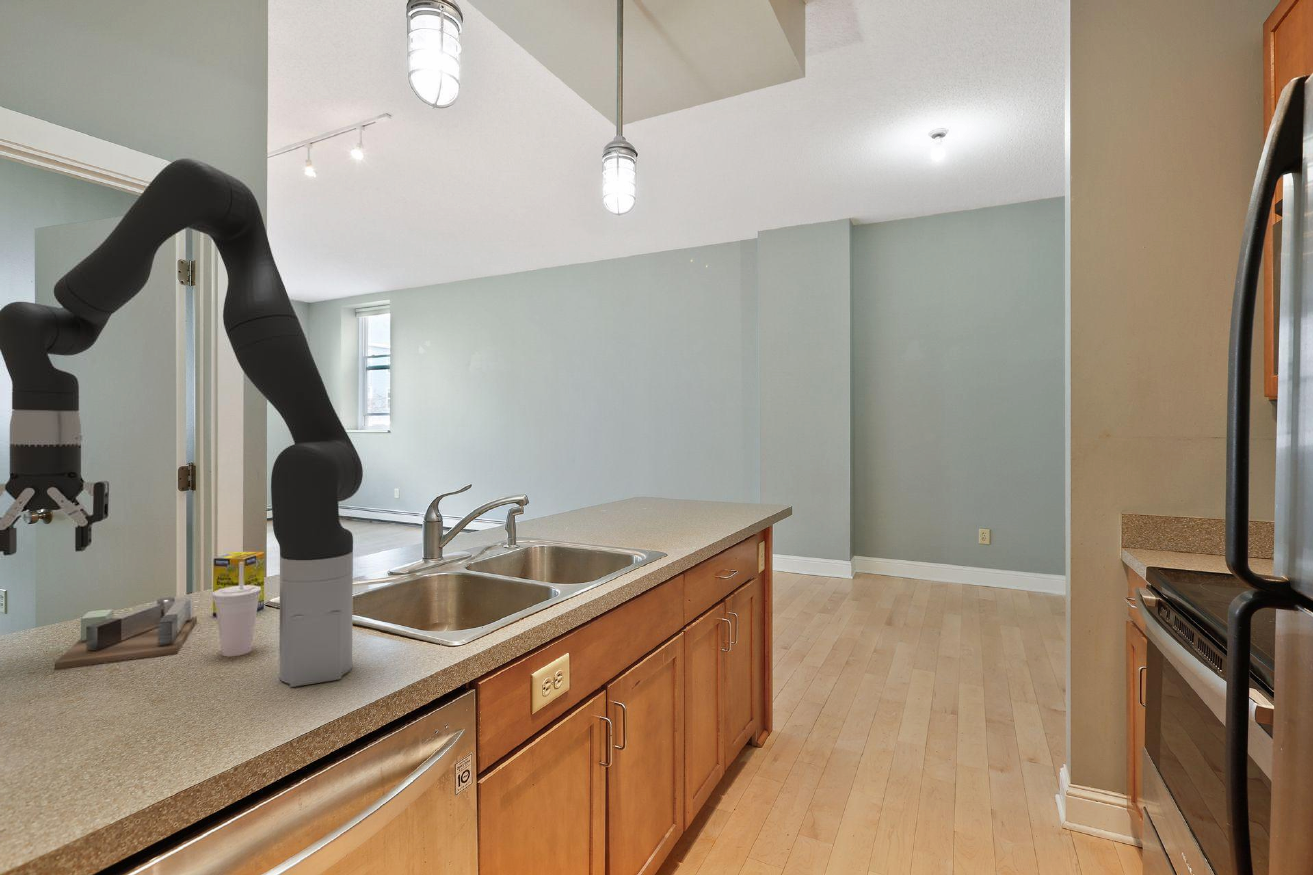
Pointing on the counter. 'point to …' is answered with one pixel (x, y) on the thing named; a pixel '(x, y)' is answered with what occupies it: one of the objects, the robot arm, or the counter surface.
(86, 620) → the tab
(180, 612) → the fixed jaw
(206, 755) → the counter surface
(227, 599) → the smoothie
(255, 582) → the supplement box
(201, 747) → the counter surface
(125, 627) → the bar
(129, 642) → the walnut board
